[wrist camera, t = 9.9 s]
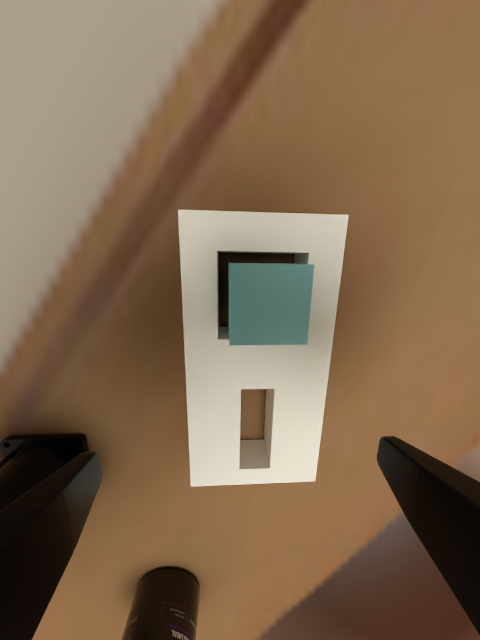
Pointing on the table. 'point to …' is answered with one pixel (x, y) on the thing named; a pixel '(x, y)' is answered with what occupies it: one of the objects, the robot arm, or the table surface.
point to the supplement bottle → (164, 607)
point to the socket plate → (256, 348)
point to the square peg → (269, 303)
